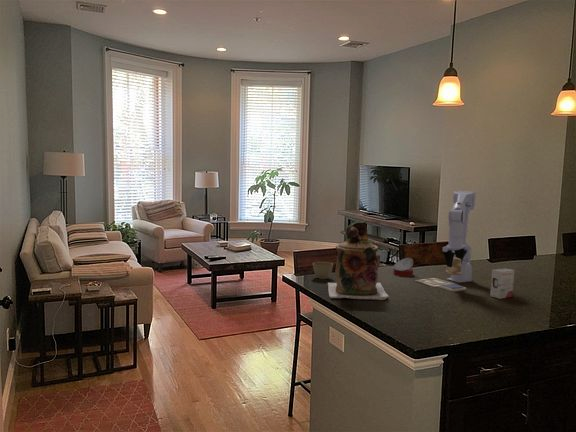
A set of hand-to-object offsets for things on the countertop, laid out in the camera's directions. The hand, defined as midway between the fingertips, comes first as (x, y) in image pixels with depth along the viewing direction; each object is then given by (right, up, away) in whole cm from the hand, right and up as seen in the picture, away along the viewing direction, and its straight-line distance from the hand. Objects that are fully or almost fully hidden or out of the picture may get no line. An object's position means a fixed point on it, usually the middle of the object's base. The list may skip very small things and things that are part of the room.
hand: (453, 266), depth 225 cm
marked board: (-5, -9, +11) cm, 15 cm away
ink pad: (0, -10, +1) cm, 10 cm away
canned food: (-16, -8, +30) cm, 35 cm away
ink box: (+17, -12, -12) cm, 24 cm away
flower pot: (-58, -8, +18) cm, 61 cm away
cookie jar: (-46, -11, -10) cm, 48 cm away
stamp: (0, -3, 0) cm, 3 cm away
